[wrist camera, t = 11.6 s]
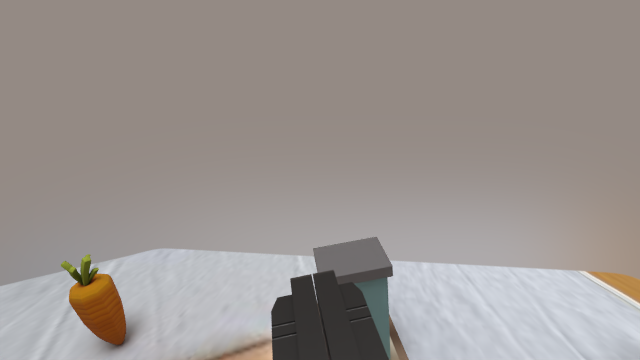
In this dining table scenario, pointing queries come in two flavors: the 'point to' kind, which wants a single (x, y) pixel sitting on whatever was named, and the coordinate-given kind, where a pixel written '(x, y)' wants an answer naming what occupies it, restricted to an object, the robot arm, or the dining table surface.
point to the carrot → (97, 302)
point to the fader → (362, 276)
